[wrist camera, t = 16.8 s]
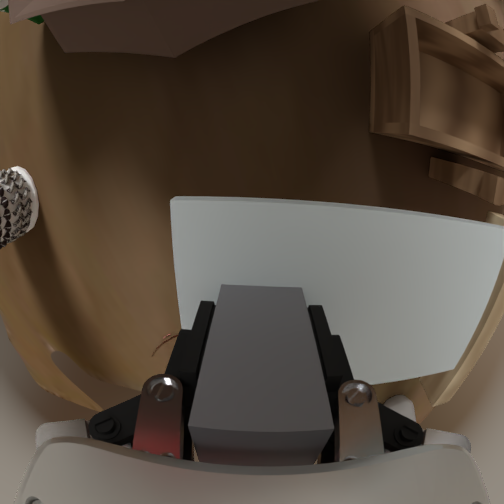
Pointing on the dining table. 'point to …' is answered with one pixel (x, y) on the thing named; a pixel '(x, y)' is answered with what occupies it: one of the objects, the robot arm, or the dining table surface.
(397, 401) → the salt shaker
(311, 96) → the dining table surface
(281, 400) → the lid
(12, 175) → the decorative candle
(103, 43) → the octagonal bowl
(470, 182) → the toolbox
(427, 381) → the wooden bar
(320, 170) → the dining table surface
